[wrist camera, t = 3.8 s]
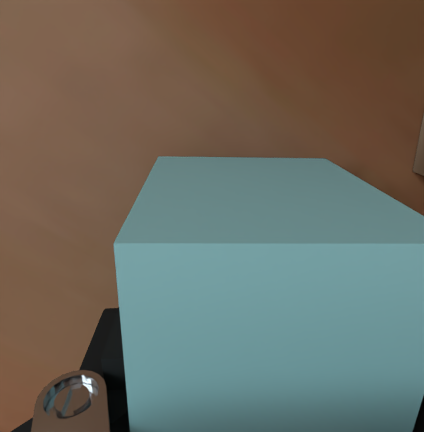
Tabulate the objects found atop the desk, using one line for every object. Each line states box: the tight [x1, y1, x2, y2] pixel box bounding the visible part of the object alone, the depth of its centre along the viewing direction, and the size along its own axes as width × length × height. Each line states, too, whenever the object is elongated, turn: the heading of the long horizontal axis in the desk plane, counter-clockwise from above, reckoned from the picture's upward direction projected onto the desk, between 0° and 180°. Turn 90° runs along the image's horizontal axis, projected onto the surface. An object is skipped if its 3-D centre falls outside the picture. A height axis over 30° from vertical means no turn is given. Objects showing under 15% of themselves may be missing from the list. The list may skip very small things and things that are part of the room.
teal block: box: [114, 156, 424, 432], centre depth 9 cm, size 5×9×6 cm, turn 179°
